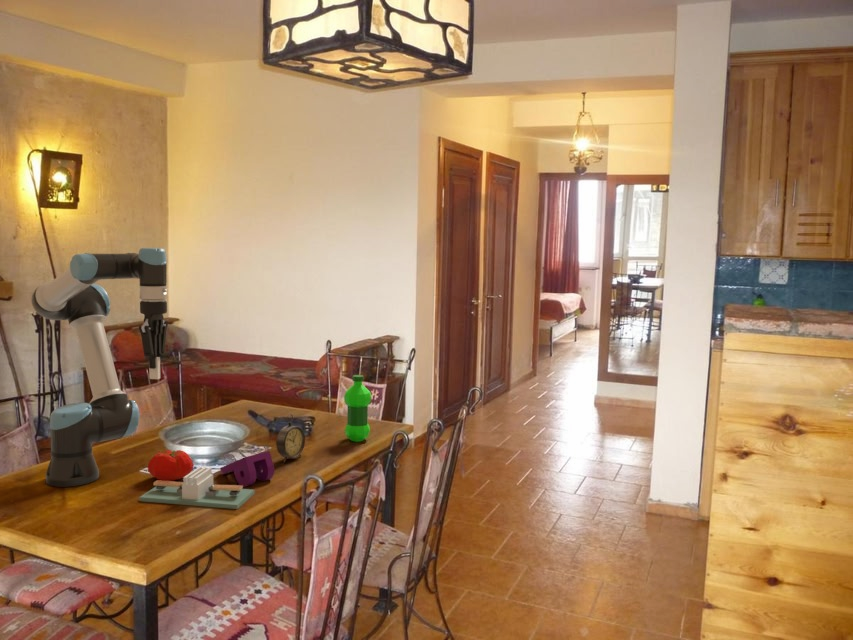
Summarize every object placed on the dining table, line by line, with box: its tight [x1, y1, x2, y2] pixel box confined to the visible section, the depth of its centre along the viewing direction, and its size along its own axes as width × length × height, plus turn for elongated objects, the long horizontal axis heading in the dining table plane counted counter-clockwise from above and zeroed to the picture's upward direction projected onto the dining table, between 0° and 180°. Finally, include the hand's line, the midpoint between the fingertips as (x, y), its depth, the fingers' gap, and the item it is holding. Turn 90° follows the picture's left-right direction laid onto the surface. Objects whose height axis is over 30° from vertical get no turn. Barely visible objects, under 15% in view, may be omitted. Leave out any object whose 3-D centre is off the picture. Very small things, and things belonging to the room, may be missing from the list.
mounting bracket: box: [219, 450, 275, 487], centre depth 236 cm, size 9×8×18 cm
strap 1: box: [153, 479, 184, 488], centre depth 220 cm, size 10×3×1 cm, turn 81°
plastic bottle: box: [343, 374, 372, 443], centre depth 283 cm, size 10×10×25 cm
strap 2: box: [208, 483, 244, 491], centre depth 217 cm, size 10×3×1 cm, turn 81°
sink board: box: [138, 466, 255, 510], centre depth 218 cm, size 30×13×8 cm, turn 81°
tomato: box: [147, 449, 195, 481], centre depth 235 cm, size 14×13×9 cm
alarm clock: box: [275, 413, 306, 464], centre depth 257 cm, size 11×5×16 cm, turn 150°
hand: (154, 378), depth 220 cm, fingers closed
